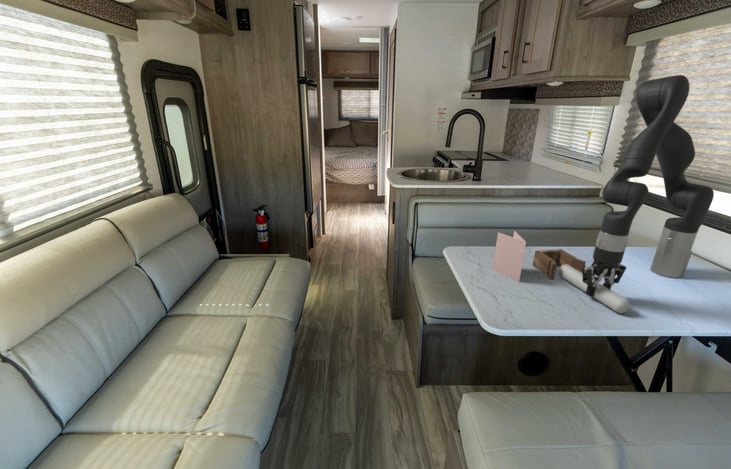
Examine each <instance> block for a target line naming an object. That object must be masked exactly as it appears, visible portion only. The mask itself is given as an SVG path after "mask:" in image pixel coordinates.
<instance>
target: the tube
mask: <svg viewBox="0 0 731 469" xmlns="http://www.w3.org/2000/svg"><path fill="white" fill-rule="evenodd" d="M557 276H558V277H560V278H561V279H564V280H565V281H567V282H568V283H570V284H572V285H573V286H574V287H576V288H578V289H579V290H582V292H585V293H586V290H587V286H588V285H587V284H585V283H584V282H583V276H582V273H581V272H579V271H577V270H576V269H574V268H572V267H571V266H570V265H568V264H566V265H562V266H561V267H559V268H558V272H557ZM594 280H595V279H593V281H592V282H594ZM592 298H593V299H595V300H597V301H598V302H600V303H602V304H603V305H605V306H606V307H607V308H609V309H611V310H612V311H614V312H616V313H617V314H624V313H626V312H628V311H629V310H630V309H631V303H630V301H629V300H628V299H627V298H625V297H624V296H622V295H620V294H619V293H617V292H616V291H613V290H612V289H608V288H606V287H605V286H603V284H602V283H600V282H598V283H597V285H596V289H595V293H594V296H593V297H592Z"/></svg>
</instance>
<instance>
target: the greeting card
mask: <svg viewBox="0 0 731 469" xmlns="http://www.w3.org/2000/svg"><path fill="white" fill-rule="evenodd" d="M527 246H528V244H527V242H526V240H525V239H524V238H523V237H522V236H521V235H519V233H517V231H515V230H514V231H513V235H512V236H510V235H507V234H505V233H501V232H497V236H496V243H495V250H494V255H493V256H494V258H493V262H492V263H493V264H492V271H494V272H496V273H499V274H501V275H503V276H505V277H507V278H509V279H511V280H514V281H516V282H519V283H520V279H521V273H522V269H523V263H524V256H525V251H526V248H527Z"/></svg>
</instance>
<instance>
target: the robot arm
mask: <svg viewBox="0 0 731 469" xmlns="http://www.w3.org/2000/svg"><path fill="white" fill-rule="evenodd" d="M689 94H690V81H689V79H688V78H687V76H686V75H684V74H675V75H670V76H665V77H660V78H653V79H649V80H646V81H643V82H641V83H640V84H639V85H638V88H637V89H636V95H635V97H636V104H637V108H638V111H639V113H640V115H641V117H642V120H643V121H644V123H645V125H646V128H644V129H643V130H642V131H641V132H639V134H637V135H636V136H635V137H634V139H632V141H631V142H630V144H629V145H628V146H627V149H626V150H625V154H624V156H623V158H622V161H621V163H620V165H619V167H618V168H617V170H616V172H615V173H614V174H613V175H612V176H611V177H610V179H609V180H608V181H607V182H606V184H605V185H604V187H603V190H602V192H601V195H602V199H603V201H604V202H606V203H607V204H612V205H618V206H623V207H627V208H626V209H625V210H623V211H622V210H620V211H619V210H617V211H615V210H614V211H612V210H611V211H607V212H605V213H604V216H603V218H602V223H601V225H600V226H601V227H600V230H599V233H598V235H597V238H596V241H595V246H594V250H593V253H592V258H593V262H592V263H591V265H589V266H586V265H585V266H583V268H582V276H583V282H584V283H585V284H587V285H588V286H587V290H586V292H585V294H586V296H589V298H594V297H593V296H594V293H595V289H596V285H597V283H600V282H601V281H602V280H603V281H604V282H603V284H602V285H603V286H605V287H606V288H608V289H610V290H612V286H614V284H619V282H620V281H621V279H622V277H623V275H624V273H625V272H626V270H627V267H626V266H625V265H623V264H622V262H623V258H624V254H625V251H626V248H627V245H628V239H629V234H630V231H631V226H632V223H633V222H634V219H635V217H636V214H638V211H639V210H640V208H642V205H643V204H644V203H645V201H646V200H647V199H648V196H649V192H650V190H649V188H648V186H647V184H645V183H643V182H638V181H630V180H628V179H631V178H633V179H635V178H642V177H645V176H647V175H648V174H649V173H650V170H651V168H652V164H653V163H654V160H655V157H656V158H657V162H658V164H659V167H660V170H661V173H662V178H663V179H662V180H663V183H664V190H665V197H666V201H667V204H668V205H669V206H670V207H672V208H675V209H678V210H682V211H686V212H685V213H684V215H683V216H681V217H676V216H675V217H669V218H667V219H666V220H665V222H664V225H663V228H662V230H661V233H660V234H661V235H660V237H659V240H658V244H657V246H656V249H655V253H654V255H653V258H652V262H651V265H650V268H649V269H650V271H651V272H653V273H655V274H656V275H659V276H663V277H665V278H666V277H667V278H673V279H677V278H682V277H683V276H684V275H685V272H686V270H687V267H688V264H689V262H690V259H691V256H692V254H693V251H692V249H693V246H694V243H695V240H696V238H697V236H698V233H699V230H700V227H701V226H702V225H703V223H704V221H705V219H706V217H707V213H708V212H709V210H710V208H711V205H712V203H713V201H714V194H715V192H714V189H713V188H712V187H710V186H706V185H702V184H697V183H691V182H688V181H687V179H686V176H685V171H686V170H687V169H688V168H689V167H690V166H691V164H692V163H693V161H694V160H695V156H696V149H695V146H694V142H693V138H692V135H691V134H690V133H689V132H688V131H687V130H686V129H684V128H683V127H681V125H679V124H678V123H675V121H676V119H677V117H678V115H679V114H680V112H681V110H682V109H683V107H684V105H685V104H686V101H687V99H688V97H689ZM593 280H594V282H592V281H593Z"/></svg>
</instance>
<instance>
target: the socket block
mask: <svg viewBox="0 0 731 469" xmlns="http://www.w3.org/2000/svg"><path fill="white" fill-rule="evenodd" d="M586 263H587V261H585V260H582V259H579V258H578V257H576V256H574V255H572V254H570V253H569V252H567V251H566V250H564V249H561V248H557V249H556V248H555V249H545V250H544V249H543V250H535V251H534V256H533V260H532V266H533V267H534V268H535V269H537V270H539V271H540V272H542V273H543V274H545V275H546V276H547V277H548V280H551V281H552V280H554V279H555V278H554V277H555V274H556V269H557V266H558V267H559V268H561V266H562V265H566V264H568V265H570V266H571V267H572V268H574V269H576V270H577V271H579V272H581V273H582V268H583V266H586Z"/></svg>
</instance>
